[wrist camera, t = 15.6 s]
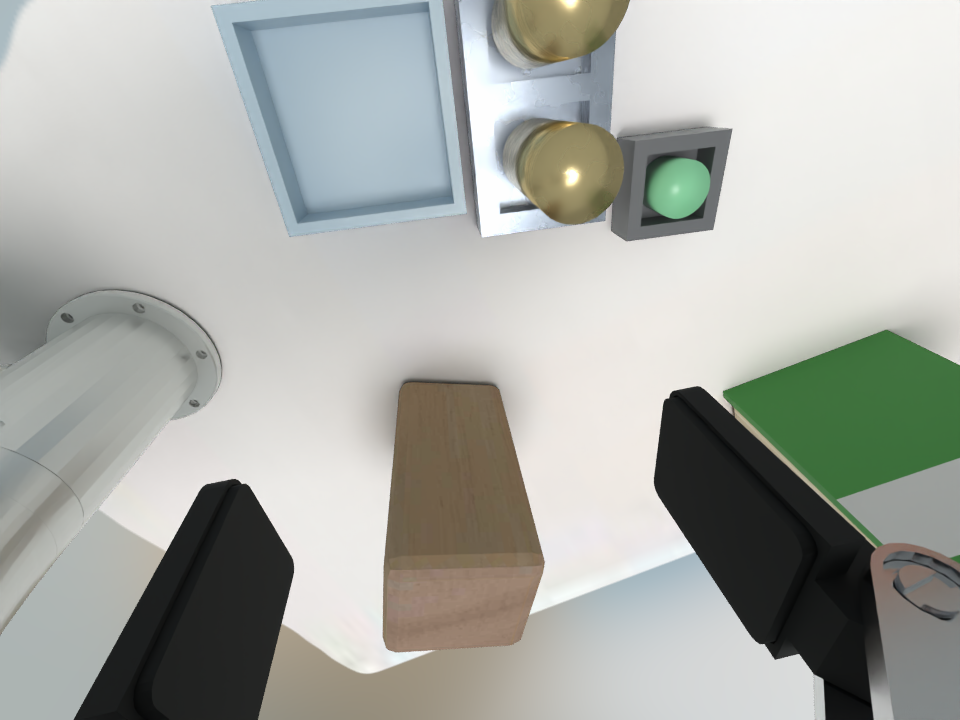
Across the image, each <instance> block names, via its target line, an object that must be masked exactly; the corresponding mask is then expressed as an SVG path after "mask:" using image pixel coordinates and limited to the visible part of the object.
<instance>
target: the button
mask: <svg viewBox="0 0 960 720" xmlns="http://www.w3.org/2000/svg"><path fill="white" fill-rule="evenodd" d="M709 188H710V175H709V172H708V170H707V168H706V167H705V165H704V164H702V163H701V162H699V161H696V160H692V159H687V158H682V157H677V156H671V155H668V156H662V157H659V158H657V159H656V160H654V161H653V162H651V163H650V164H649V165H648V166H647V167H646V176H645V186H644V196H643V205H644V206H645V207H647V208H649V209H651V210H653V211H655V212H657V213H660V214H662V215H664V216H666V217H669V218H672V219H679V218H683V217H686V216H688V215H690V214H692V213H693V212H695V211H696V210H697V209H698V208H699V207H700V206H701V205H702V203H703V202H704V200H705V199H706V197H707V194H708V192H709Z"/></svg>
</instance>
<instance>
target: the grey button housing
mask: <svg viewBox="0 0 960 720" xmlns="http://www.w3.org/2000/svg"><path fill="white" fill-rule="evenodd" d="M731 133H732V129H728V128H714V127H702V128H694V129H686V130H678V131H670V132H661V133H653V134H645V135H637V136H629V137H621V138H617V142H618V144H619V146H620V148H621V151H622V155H623V160H624V174H623V180H622V184H621V187H620V189H619V192H618V194H617V196H616V197H615V199H614V201H613V211H612V226H611V231H612V232H613V233H615V234H616V235H618V236H619V237H621V238H622V239H624V240H625V241H633V240H640V239H648V238H655V237H663V236H670V235H677V234H685V233H692V232H699V231H707V230H713V228H714V222H715V217H716V212H717V207H718V202H719V196H720V191H721V186H722V181H723V175H724V170H725V165H726V160H727V154H728V149H729V144H730V139H731ZM668 155H671V156H677V157H682V158H687V159H692V160H696V161H699V162H701V163H702V164H704V165H705V167H706V168H707V170H708V172H709V175H710V188H709V192H708V194H707V197H706V199H705V200H704V202H703V203H702V205H701V206H700V207H699V208H698V209H697V210H696V211H695V212H693V213H692V214H690V215H688V216H686V217H683V218H679V219H672V218H669V217H666V216H664V215H662V214H660V213H657V212H655V211H653V210H651V209H649V208H647V207H645V206H644V205H643V196H644V186H645V176H646V167H647V166H648V165H649V164H650V163H651V162H653V161H654V160H656V159H657V158H659V157H662V156H668Z"/></svg>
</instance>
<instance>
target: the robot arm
mask: <svg viewBox="0 0 960 720" xmlns="http://www.w3.org/2000/svg"><path fill="white" fill-rule="evenodd" d="M220 381H221V364H220V359H219V356H218V353H217V351H216V349H215V347H214V345H213V343H212V342H211V340H210V339H209V337H208V336H207V335H206V333H205V332H204V331H203V330H202V329H201V328H200V327H199V326H198V325H197V324H196V323H195V322H194V321H193V320H191V319H190V318H189V317H188V316H186V315H185V314H184V313H182V312H181V311H179V310H177V309H176V308H174V307H172V306H170V305H169V304H167V303H165V302H162V301H160V300H157V299H155V298H152V297H150V296H146V295H142V294H139V293H135V292H128V291H120V290H106V291H97V292H92V293H88V294H84V295H82V296H80V297H78V298H76V299H74V300H72V301H70V302H69V303H67V304H65V305H64V306H62V307H61V308H59V310H58V311H57V312H56V313H55V314H54V315H53V317H52V318H51V320H50V323H49V325H48V327H47V334H46V344H45V345H43V346H42V347H40V348H38V349H37V350H35V351H34V352H32V353H30V354H29V355H27V356H26V357H24V358H22V359H21V360H19V361H18V362H16V363H15V364H10V365H3V366H0V635H1V634H2V632H3V631H4V629H5V627H6V626H7V625H8V623H9V622H10V621H11V619H12V618H13V616H14V615H15V614H16V612H17V611H18V609H19V608H20V607H21V605H22V604H23V603H24V601H25V600H26V598H27V597H28V596H29V594H30V593H31V592H32V590H33V589H34V588H35V586H36V585H37V584H38V582H39V581H40V580H41V579H42V578H43V576H44V575H45V574H46V572H47V571H48V570H49V569H50V567H51V566H52V565H53V563H54V562H55V561H56V560H57V558H58V557H59V556H60V555H61V554H62V552H63V551H64V550H65V549H66V547H67V546H68V545H69V544H70V542H71V541H72V540H73V539H74V537H75V536H76V535H77V534H78V533H79V532H80V530H81V529H82V528H83V527H84V526H85V524H86V523H87V522H88V521H89V519H90V518H91V517H92V516H93V514H94V513H95V512H96V511H97V509H98V508H99V507H100V506H101V505H102V503H103V502H104V501H105V500H106V498H107V497H108V496H109V495H110V493H111V492H112V491H113V490H114V489H115V487H116V486H117V485H118V484H119V482H120V481H121V480H122V479H123V477H124V476H125V475H126V474H127V473H128V471H129V470H130V469H131V468H132V466H133V465H134V464H135V463H136V461H137V460H138V459H139V458H140V456H141V455H142V454H143V453H144V452H145V450H146V449H147V448H148V447H149V445H150V444H151V443H152V442H153V440H154V439H155V438H156V437H157V436H158V434H159V433H160V432H161V431H162V429H163V428H164V427H165V426H166V424H167V423H168V422H169V421H170V420H176V419H180V418H184V417H187V416H189V415H192V414H194V413H196V412H197V411H199V410H200V409H202V408H203V407H204V406H205V405H206V404H207V403H208V402H209V401H210V400H211V399H212V397H213V395H214V394H215V392H216V391H217V389H218V387H219V384H220ZM654 486H655V490H656V492H657V494H658V496H659V498H660V499H661V501H662V502H663V504H664V505H665V507H666V508H667V510H668V511H669V513H670V514H671V516H672V517H673V519H674V520H675V522H676V523H677V525H678V527H679V528H680V530H681V531H682V533H683V534H684V536H685V537H686V539H687V540H688V542H689V543H690V545H691V546H692V548H693V549H694V551H695V552H696V554H697V555H698V557H699V558H700V560H701V561H702V563H703V564H704V566H705V567H706V569H707V570H708V572H709V573H710V575H711V576H712V578H713V580H714V581H715V583H716V584H717V586H718V587H719V589H720V590H721V592H722V593H723V595H724V596H725V598H726V599H727V601H728V602H729V604H730V605H731V607H732V608H733V610H734V611H735V613H736V614H737V616H738V617H739V619H740V620H741V622H742V623H743V625H744V626H745V628H746V629H747V631H748V632H749V634H750V635H751V637H752V638H753V639H754V640H755V641H756V642H758V643H759V644H765V645H766V647H767V648H768V650H769V651H770V653H771V654H772V656H773V657H774V659H775V660H776V659H780V658H784V657H788V656H791V655H796V654H800V656H801V657H802V658H803V660H804V661H805V662H806V664H807V665H808V666H809V668H810V669H811V670H812V672H813V676H814V677H813V678H814V707H815V720H960V564H959V563H958V562H956V561H954V560H952V559H950V558H948V557H947V556H945V555H943V554H941V553H938V552H935V551H933V550H930V549H927V548H925V547H922V546H917V545H912V544H907V543H888V544H885V545H882V546H879V547H877V549H876V548H875V547H874V546H873V545H871V544H870V543H869V542H868V541H867V540H866V538H865V537H864V536H863V535H862V534H861V533H859V532H858V531H857V530H856V529H855V528H854V527H853V526H852V525H851V524H850V523H849V522H847V521H846V520H845V519H844V518H843V517H842V516H841V515H840V514H839V513H838V512H837V511H836V510H834V509H833V508H832V507H831V506H830V505H829V504H828V503H827V502H826V501H825V500H824V499H823V498H821V497H820V496H819V495H818V494H817V493H816V492H815V491H814V490H813V489H812V488H811V487H810V486H808V485H807V484H806V483H805V482H804V481H803V480H802V479H801V478H800V477H799V476H798V475H797V474H795V473H794V472H793V471H792V470H791V469H790V468H789V467H788V466H787V465H786V464H785V463H784V462H782V461H781V460H780V459H779V458H778V457H777V456H776V455H775V454H774V453H773V452H772V451H771V450H769V449H768V448H767V447H766V446H765V445H764V444H763V443H762V442H761V441H760V440H759V439H757V438H756V437H755V436H754V435H753V434H752V433H751V432H750V431H749V430H748V429H747V428H746V427H744V426H743V425H742V424H741V423H740V422H739V421H738V420H737V419H736V418H735V417H734V416H733V415H731V414H730V413H729V412H728V411H727V410H726V409H725V408H724V407H723V406H722V405H721V404H720V403H718V402H717V401H716V400H715V399H714V398H713V397H712V396H711V395H710V394H709V393H708V392H707V391H705V390H704V389H703V388H701V387H699V386H696V387H691V388H686V389H681V390H676V391H673V392H672V393H671V394H670V397H669V398H668V399H665V401H664V404H663V411H662V419H661V427H660V435H659V443H658V451H657V459H656V467H655V475H654ZM293 574H294V563H293V559H292V557H291V555H290V553H289V552H288V550H287V548H286V547H285V545H284V543H283V542H282V540H281V538H280V537H279V535H278V533H277V532H276V530H275V528H274V527H273V525H272V523H271V522H270V520H269V518H268V517H267V515H266V513H265V512H264V510H263V508H262V507H261V505H260V503H259V502H258V500H257V498H256V497H255V495H254V493H253V492H252V490H251V488H250V487H249V486H248V485H247V484H241V483H240V481H238V480H236V479H231V480H226V481H221V482H216V483H211V484H206V485H205V486H203V487H202V489H201V490H200V491H199V493H198V495H197V497H196V499H195V501H194V502H193V504H192V506H191V508H190V510H189V511H188V513H187V515H186V517H185V519H184V520H183V522H182V524H181V526H180V528H179V530H178V531H177V533H176V535H175V537H174V539H173V540H172V542H171V544H170V546H169V548H168V549H167V551H166V553H165V555H164V557H163V559H162V560H161V562H160V564H159V566H158V568H157V569H156V571H155V573H154V575H153V577H152V578H151V580H150V582H149V584H148V586H147V588H146V589H145V591H144V593H143V595H142V597H141V599H140V600H139V602H138V604H137V606H136V607H135V609H134V611H133V613H132V615H131V617H130V618H129V620H128V622H127V624H126V626H125V627H124V629H123V631H122V633H121V635H120V636H119V638H118V640H117V642H116V644H115V646H114V647H113V649H112V651H111V653H110V655H109V656H108V658H107V660H106V662H105V664H104V665H103V667H102V669H101V671H100V673H99V675H98V677H97V678H96V680H95V682H94V684H93V685H92V687H91V689H90V691H89V693H88V694H87V696H86V698H85V700H84V702H83V704H82V705H81V707H80V709H79V711H78V713H77V714H76V716H75V718H74V720H258V716H259V712H260V708H261V704H262V700H263V696H264V692H265V688H266V684H267V680H268V676H269V672H270V668H271V664H272V660H273V656H274V652H275V647H276V644H277V639H278V635H279V631H280V627H281V623H282V619H283V615H284V611H285V607H286V603H287V599H288V595H289V591H290V587H291V583H292V579H293Z"/></svg>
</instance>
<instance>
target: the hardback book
mask: <svg viewBox="0 0 960 720" xmlns="http://www.w3.org/2000/svg"><path fill="white" fill-rule="evenodd" d="M723 396H724V398H725V399H726V400H727V401H728V402H729V403H730V404H731V405H732V406H733V407H734V412H735V418H736V419H737V420H738V421H739V422H740V423H741V424H742V425H743V426H744V427H746V428H747V429H748V430H749V431H750V432H751V433H752V434H753V435H754V436H755V437H756V438H757V439H759V440H760V441H761V442H762V443H763V444H764V445H765V446H766V447H767V448H768V449H769V450H771V451H772V452H773V453H774V454H775V455H776V456H777V457H778V458H779V459H780V460H781V461H782V462H784V463H785V464H786V465H787V466H788V467H789V468H790V469H791V470H792V471H793V472H794V473H795V474H797V475H798V476H799V477H800V478H801V479H802V480H803V481H804V482H805V483H806V484H807V485H808V486H810V487H811V488H812V489H813V490H814V491H815V492H816V493H817V494H818V495H819V496H820V497H821V498H823V499H824V500H825V501H826V502H827V503H828V504H829V505H830V506H831V507H832V508H833V509H834V510H836V511H837V512H838V513H839V514H840V515H841V516H842V517H843V518H844V519H845V520H846V521H847V522H849V523H850V524H851V525H852V526H853V527H854V528H855V529H856V530H857V531H858V532H859V533H861V534H862V535H863V536H864V537H865V538H866V540H867V541H868V542H869V543H870V544H871V545H873V546H874V547H875V548H876V549H877V547H879V546H882V545H885V544H888V543H907V544H912V545H917V546H922V547H925V548H927V549H930V550H933V551H935V552H938V553H941V554H943V555H945V556H947V557H948V558H950V559H952V560H954V561H956V562H958V563H959V564H960V365H958V364H956V363H954V362H952V361H950V360H948V359H946V358H944V357H942V356H940V355H938V354H935V353H933V352H931V351H929V350H927V349H925V348H923V347H921V346H919V345H917V344H915V343H913V342H911V341H909V340H907V339H904V338H902V337H900V336H898V335H896V334H894V333H892V332H890V331H888V330H885V331H882V332H879V333H877V334H874V335H871V336H869V337H866V338H863V339H861V340H858V341H855V342H853V343H850V344H847V345H845V346H842V347H839V348H837V349H834V350H831V351H829V352H826V353H823V354H821V355H818V356H815V357H813V358H810V359H808V360H805V361H802V362H800V363H797V364H794V365H792V366H789V367H786V368H784V369H781V370H778V371H776V372H773V373H770V374H768V375H765V376H762V377H760V378H757V379H754V380H752V381H749V382H746V383H744V384H741V385H738V386H736V387H733V388H731V389H728V390H725V391H723Z"/></svg>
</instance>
